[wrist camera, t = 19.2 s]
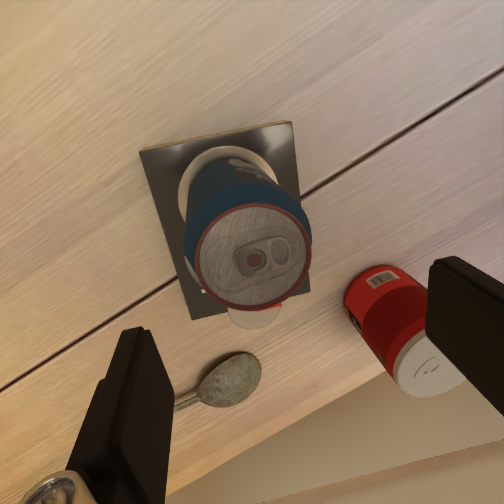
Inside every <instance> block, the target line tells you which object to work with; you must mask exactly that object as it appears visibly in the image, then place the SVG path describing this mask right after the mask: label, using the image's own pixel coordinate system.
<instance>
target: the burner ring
mask: <svg viewBox="0 0 504 504" xmlns="http://www.w3.org/2000/svg"><path fill="white" fill-rule="evenodd" d="M225 158H239V159H244V160H247V161H250V162H252V163H254V164H255V165H257V166H258V167H260V168H261V169H262V170H263V171H264V172H265V173H266V174H267V175H268V176H270V177H271V178H272V179H273V180H274V181H275V182H276V183H277V184H278V181H277V179H276V176H275V174H274V172H273V170H272V169H271V167H270V166H269V164H268V163H267V162H266V161H265V160H264V159H263V158H261V157H260V156H259V155H257V154H256V153H254V152H253V151H250V150H248V149H246V148H242V147H237V146H220V147H216V148H212V149H210V150H208V151H205V152H204V153H202V154H200V155H199V156H198V157H196V158H195V159H194V160H193V161H192V162H191V163H190V164H189V166H188V167H187V168H186V170H185V172H184V173H183V175H182V178H181V181H180V184H179V189H178V205H179V210H180V213H181V216H182V218H183V220H184V222H185V221H186V209H187V198H188V192H189V188H190V186H191V183H192V182H193V180H194V178H195V177H196V175H197V174H198V173H199V172H200V171H201V170H202V169H203V168H204V167H206V166H207V165H209V164H211V163H212V162H215V161H217V160H221V159H225Z"/></svg>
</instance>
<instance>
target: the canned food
mask: <svg viewBox="0 0 504 504" xmlns="http://www.w3.org/2000/svg"><path fill="white" fill-rule="evenodd" d="M427 291H428V289H426V288H425V287H424V286H422V285H421V284H420V283H418V282H417V281H416V280H414V279H413V278H412V277H411V276H409V275H408V274H407V273H405V272H404V271H403V270H401V269H398V268H395V267H391V266H377V267H373V268H370V269H368V270H366V271H364V272H363V273H361V274H360V275H359V276H357V277H356V278H355V279H354V280H353V281H352V283H351V284H350V286H349V287H348V289H347V291H346V294H345V298H344V305H345V310H346V314H347V316H348V318H349V320H350V321H351V322H352V324H353V325H354V326H355V328H356V329H357V331H358V332H359V333H360V335H361V336H362V338H363V339H364V340H365V342H366V343H367V344H368V346H369V347H370V349H371V350H372V351H373V353H374V354H375V355H376V357H377V358H378V360H379V361H380V362H381V364H382V365H383V366H384V368H385V369H386V371H387V372H388V373H389V375H390V376H391V377H392V378H393V380H394V381H395V382H396V384H397V385H398V386H399V387H400V388H401V389H402V390H403V391H404V392H405V393H407V394H408V395H410V396H414V397H431V396H436V395H439V394H442V393H444V392H447V391H449V390H451V389H452V388H454V387H456V386H457V385H459V384H460V383H462V382H463V381H464V380H465V379H466V377H465V376H464V375H463V374H462V373H461V372H460V371H459V370H458V369H457V368H456V367H455V366H454V365H453V364H452V363H451V362H450V361H449V360H448V359H447V358H446V357H445V356H444V355H443V353H442V352H441V351H440V350H439V349H438V348H437V347H436V346H435V345H434V344H433V343H432V342H431V341H430V340H429V339H428V338H427V336H426V333H425V316H426V304H427Z"/></svg>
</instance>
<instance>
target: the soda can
mask: <svg viewBox="0 0 504 504" xmlns="http://www.w3.org/2000/svg"><path fill="white" fill-rule="evenodd" d="M311 244H312V235H311V228H310V224H309V221H308V218H307V216H306V214H305V212H304V211H303V209H302V207H301V206H300V205H299V204H298V203H297V201H296V200H295V199H293V198H292V197H291V196H290V195H289V194H288V193H287V192H286V191H285V190H284V189H283V188H282V187H280V186H279V185H278V184H277V183H276V182H275V181H274V180H273V179H272V178H271V177H270V176H268V175H267V174H266V173H265V172H264V171H263V170H262V169H261V168H260V167H258V166H257V165H255V164H254V163H252V162H250V161H247V160H244V159H239V158H225V159H221V160H217V161H215V162H212V163H211V164H209V165H207V166H206V167H204V168H203V169H202V170H201V171H200V172H199V173H198V174H197V175H196V177H195V178H194V180H193V182H192V183H191V186H190V188H189V192H188V198H187V209H186V221H185V232H184V246H183V249H184V257H185V261H186V264H187V267H188V269H189V272H190V273H191V275H192V277H193V278H194V280H195V281H196V282H197V283H198V284H199V285H200V286H201V287H202V288H203V289H204V290H205V291H206V293H207V294H208V295H209V296H210V297H211V298H212V299H214V300H215V301H216V302H218V303H220V304H221V305H223V306H226V307H228V308H231V309H234V310H239V311H260V310H264V309H268V308H270V307H273V306H275V305H277V304H279V303H281V302H283V301H284V300H286V299H287V298H289V297H290V296H291V295H292V294H293V293H294V292H295V291H296V290H297V289H298V288H299V287H300V285H301V284H302V283H303V281H304V279H305V277H306V275H307V273H308V270H309V267H310V263H311Z"/></svg>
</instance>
